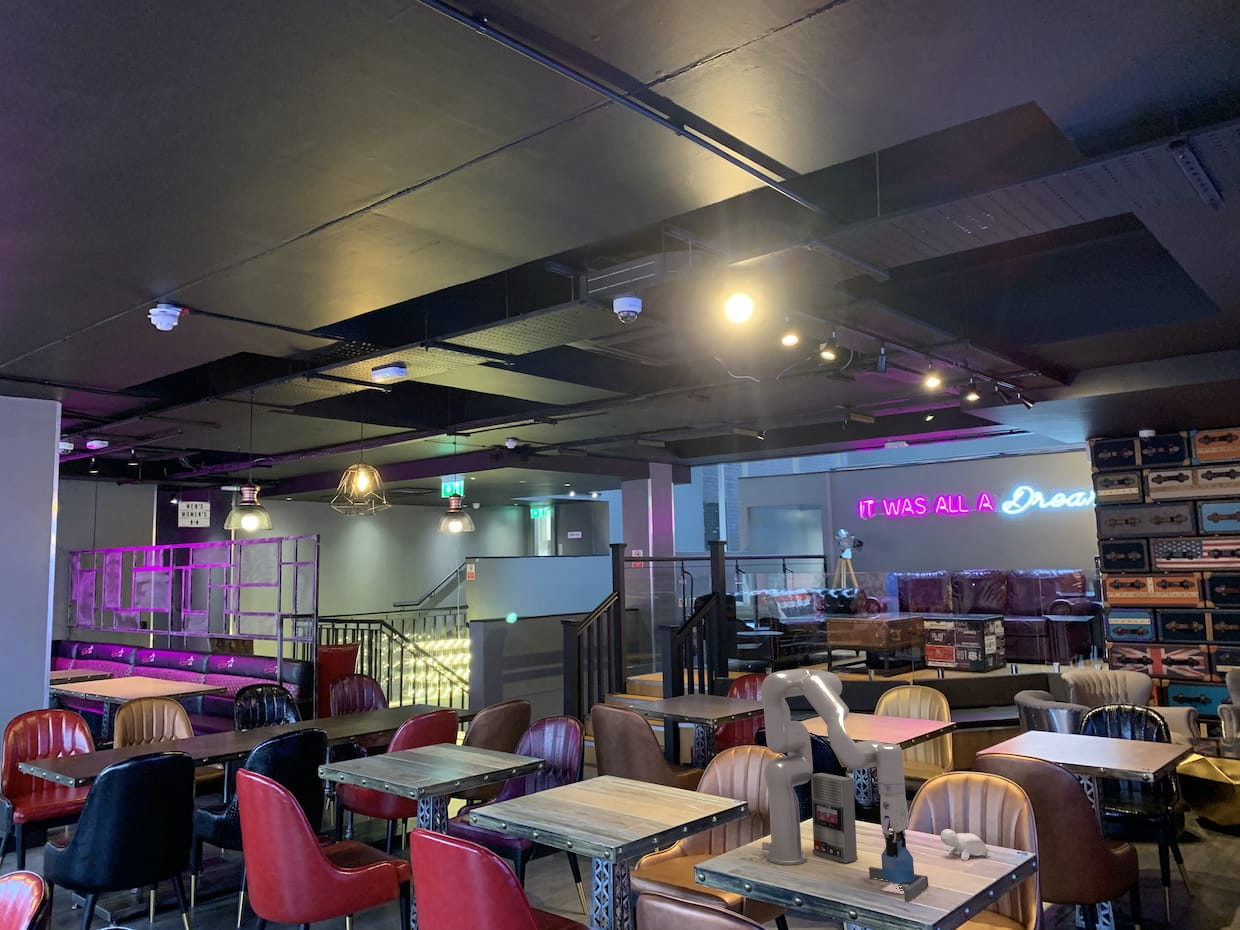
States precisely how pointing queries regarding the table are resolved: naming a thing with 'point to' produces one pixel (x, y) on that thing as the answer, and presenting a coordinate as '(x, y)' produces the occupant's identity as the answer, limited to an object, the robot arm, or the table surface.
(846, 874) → the table surface
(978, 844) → the white turtle figurine
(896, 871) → the perfume bottle
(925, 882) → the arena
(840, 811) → the cassette tape recorder
